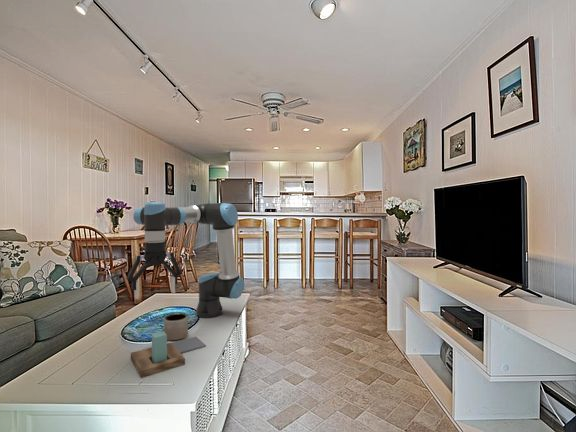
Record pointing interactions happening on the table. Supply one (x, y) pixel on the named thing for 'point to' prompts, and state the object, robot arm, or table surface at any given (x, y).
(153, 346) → the teal block
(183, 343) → the rubber mat
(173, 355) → the pocket board
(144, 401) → the table surface
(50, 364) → the table surface
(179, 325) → the planter
